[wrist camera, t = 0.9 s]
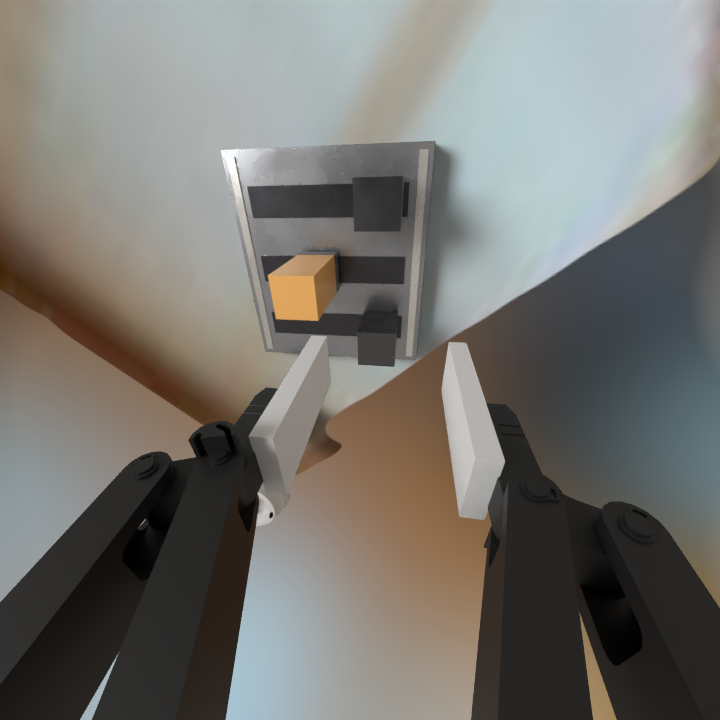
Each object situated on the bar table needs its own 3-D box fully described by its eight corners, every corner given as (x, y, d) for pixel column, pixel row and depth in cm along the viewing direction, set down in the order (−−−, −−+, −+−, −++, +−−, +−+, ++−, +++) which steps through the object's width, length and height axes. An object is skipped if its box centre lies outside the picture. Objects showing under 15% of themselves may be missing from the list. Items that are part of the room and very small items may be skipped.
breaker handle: (301, 251, 28) (267, 274, 22) (337, 251, 28) (314, 275, 21) (305, 287, 30) (275, 319, 24) (339, 288, 30) (319, 321, 23)
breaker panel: (232, 151, 27) (182, 145, 21) (433, 143, 25) (440, 132, 19) (272, 343, 38) (245, 375, 32) (415, 351, 35) (416, 387, 29)
